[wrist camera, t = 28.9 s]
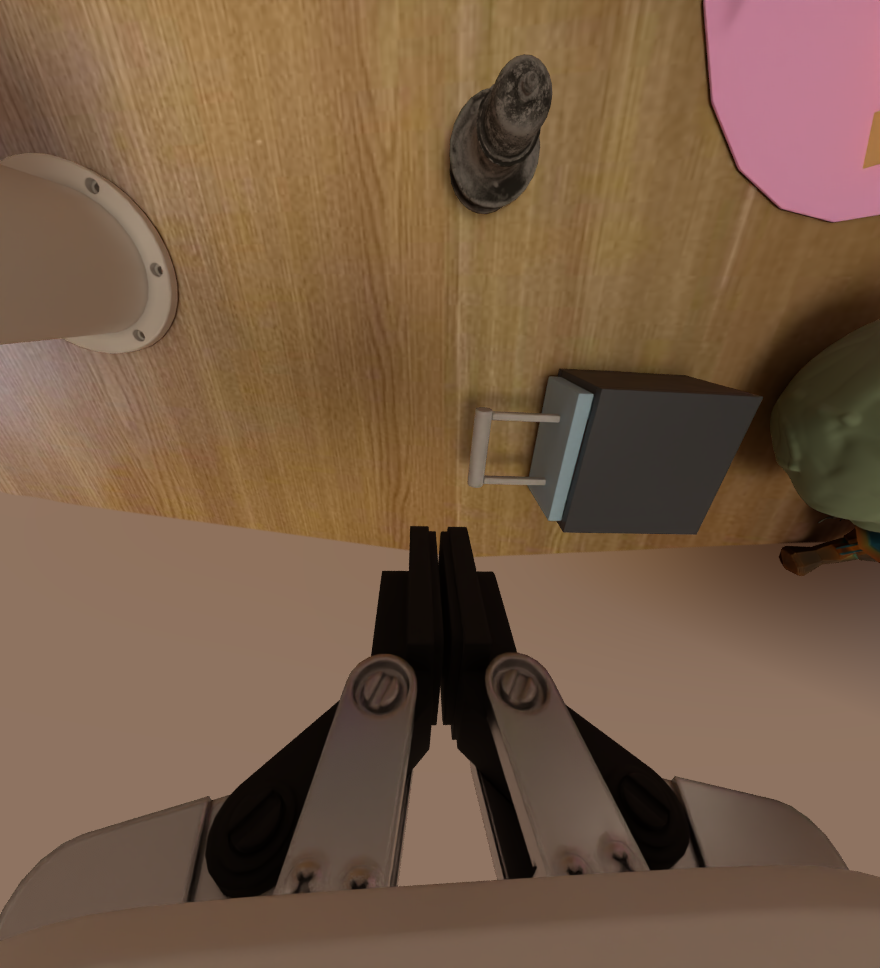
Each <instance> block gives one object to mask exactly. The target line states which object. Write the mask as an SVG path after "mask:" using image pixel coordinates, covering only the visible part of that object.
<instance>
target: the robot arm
mask: <svg viewBox="0 0 880 968" xmlns="http://www.w3.org/2000/svg"><path fill="white" fill-rule="evenodd" d="M161 268H162V270H163V273H162V272H161ZM177 302H178V296H177V281H176V276H175V272H174V267H173V264H172V261H171V259H170V256H169V253H168V251H167V248H166V246H165V245H164V243H163V241H162V239H161V237H160V235H159V234H158V232H157V230H156V229H155V227H154V226H153V224H152V223H151V222H150V220H149V219H148V218H147V216H146V215H145V214H144V212H143V211H142V210H141V209H140V208H139V207H138V206H137V205H136V204H135V203H134V202H133V201H132V199H131V198H130V197H129V196H128V195H127V194H125V193H124V192H123V191H122V190H120V189H119V188H118V187H117V186H115V185H114V184H113V183H112V182H111V181H109V180H107V179H106V178H104V177H102V176H101V175H99V174H97V173H96V172H94V171H92V170H91V169H89V168H86V167H84V166H81V165H79V164H77V163H75V162H72V161H70V160H67V159H63V158H60V157H57V156H54V155H50V154H41V153H23V154H17V155H12V156H9V157H7V158H5V159H3V160H1V161H0V345H2V344H12V343H21V342H31V341H40V340H50V339H60V338H62V339H64V340H66V341H68V342H70V343H72V344H74V345H77V346H79V347H82V348H86V349H89V350H92V351H96V352H103V353H110V354H113V353H128V352H133V351H138V350H141V349H144V348H146V347H149V346H151V345H153V344H154V343H155V342H157V341H158V340H160V339H161V338H162V337H163V336H164V334H165V333H166V332H167V331H168V329H169V328H170V326H171V324H172V321H173V319H174V317H175V313H176V307H177ZM440 688H441V704H442V720H443V725H451V733H452V740H457V748H458V749H459V750H460V751H461V752H462V753H463V754H464V755H465V756H466V757H467V758H468V759H469V760H470V767H471V773H472V777H473V781H474V785H475V790H476V794H477V798H478V802H479V806H480V810H481V814H482V819H483V823H484V827H485V831H486V835H487V839H488V844H489V847H490V852H491V856H492V860H493V864H494V868H495V873H496V876H497V880H492V881H476V882H462V883H461V882H460V883H446V884H432V885H414V886H399V887H398V881H399V873H400V866H401V858H402V851H403V844H404V835H405V828H406V821H407V813H408V806H409V799H410V791H411V784H412V776H413V768H414V767H415V766H416V765H417V763H418V762H419V761H420V760H421V759H422V757H423V756H424V755H425V753H426V752H427V751H428V750H429V747H430V735H431V725H436V724H437V714H438V704H439V693H440ZM0 968H880V877H877V876H874V875H869V874H865V873H862V872H858V871H851V870H849V869H848V867H847V866H846V864H845V862H844V861H843V859H842V857H841V856H840V854H839V853H838V851H837V850H836V849H835V847H834V846H833V845H832V843H831V842H830V841H829V839H828V838H827V836H826V835H825V834H824V833H823V832H822V831H821V830H820V829H819V828H818V827H817V826H816V825H815V824H814V823H813V822H812V821H811V820H810V819H809V818H807V817H806V816H805V815H803V814H802V813H800V812H799V811H797V810H796V809H795V808H793V807H792V806H790V805H787V804H785V803H782V802H780V801H777V800H774V799H770V798H766V797H761V796H756V795H753V794H748V793H744V792H740V791H736V790H731V789H727V788H723V787H719V786H714V785H710V784H706V783H702V782H697V781H693V780H689V779H684V778H680V777H676V776H675V777H674V778H673V779H672V781H671V780H667V779H663V778H661V777H660V776H659V775H658V774H657V773H656V772H655V771H654V770H652V769H651V768H650V767H649V766H647V765H646V764H644V763H643V762H641V760H639V759H638V758H637V757H635V756H634V755H632V754H631V753H630V752H628V751H627V750H626V749H624V748H623V747H622V746H620V745H619V744H618V743H616V742H615V741H614V740H612V739H611V738H610V737H608V736H607V735H605V734H604V733H603V732H602V731H600V730H599V729H598V728H596V727H595V726H593V725H592V724H591V723H589V722H588V721H587V720H585V719H584V718H583V717H581V716H580V715H579V714H577V713H576V712H575V711H573V710H572V709H571V708H569V707H568V706H567V705H565V703H564V701H563V699H562V697H561V695H560V693H559V691H558V689H557V687H556V685H555V683H554V681H553V679H552V678H551V676H550V675H549V673H548V672H547V670H546V669H545V668H544V667H543V666H542V665H541V664H540V663H539V662H538V661H536V660H535V659H533V658H531V657H529V656H528V655H525V654H520V653H517V651H516V647H515V644H514V640H513V636H512V633H511V630H510V626H509V622H508V619H507V616H506V612H505V609H504V605H503V601H502V598H501V594H500V591H499V588H498V584H497V580H496V577H495V574H494V573H493V572H476V567H475V563H474V558H473V553H472V549H471V544H470V540H469V535H468V531H467V528H466V527H448V529H447V532H441V535H440V548H439V562H438V555H437V543H436V532H435V531H429V527H428V526H410V553H409V571H382V576H381V584H380V591H379V599H378V607H377V615H376V622H375V630H374V638H373V646H372V654H371V657H368V658H367V659H365V660H363V661H362V662H360V663H359V664H358V665H357V666H356V667H355V668H354V669H353V670H352V671H351V673H350V675H349V677H348V679H347V681H346V684H345V687H344V690H343V692H342V695H341V698H340V700H339V701H338V702H337V703H336V704H335V705H333V706H332V707H331V708H330V709H329V710H328V711H327V712H325V713H324V714H323V715H322V716H321V717H319V718H318V719H317V720H316V721H315V722H314V723H312V724H311V725H310V726H309V727H308V728H306V729H305V730H304V731H303V732H302V733H301V734H299V735H298V736H297V737H296V738H295V739H293V740H292V741H291V742H290V743H289V744H288V745H286V746H285V747H284V748H283V749H282V750H281V751H279V752H278V753H277V754H276V755H275V756H274V757H272V758H271V759H270V760H269V761H268V762H266V763H265V764H264V765H263V766H262V767H261V768H260V769H258V770H257V771H256V772H255V773H254V774H253V775H251V776H250V777H249V778H248V779H247V780H245V781H244V782H243V783H242V784H241V785H240V786H239V787H238V788H237V789H236V790H235V791H234V792H233V793H232V794H231V795H228V796H225V797H221V798H218V799H215V800H211V799H210V797H209V796H207V797H204V798H201V799H197V800H194V801H191V802H188V803H184V804H181V805H178V806H174V807H171V808H168V809H164V810H161V811H158V812H154V813H151V814H148V815H144V816H141V817H138V818H134V819H131V820H128V821H125V822H121V823H118V824H115V825H111V826H108V827H105V828H102V829H98V830H95V831H91V832H88V833H85V834H82V835H80V836H78V837H76V838H73V839H72V840H69V841H67V842H65V843H63V844H61V845H60V846H59V847H57V848H56V849H55V850H53V851H52V852H51V853H49V854H48V855H47V856H46V857H44V858H43V859H42V860H40V862H39V863H38V864H37V865H36V866H35V867H34V868H33V869H32V870H31V871H30V872H29V873H28V875H26V876H25V878H24V879H23V880H22V881H21V882H20V884H19V885H18V887H17V888H16V890H15V891H14V893H13V894H12V896H11V897H10V899H9V900H8V902H7V904H6V905H5V907H4V909H3V910H2V912H1V914H0Z"/></svg>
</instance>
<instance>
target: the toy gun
mask: <svg viewBox="0 0 880 968" xmlns="http://www.w3.org/2000/svg"><path fill="white" fill-rule="evenodd" d="M779 559H780V562H781V564H782V565H783V566H784V568H785V569H786V570H789V571H790V572H792V573H794V574H797V575H799V576H804V575H806V574H807V573H809V572H811V571H812V570H814V569H815V568H817V567H819V566H820V565H822V564H830V563H839V562H845V561H850V560H856V559H859V560H866V561H876V562H879V563H880V533H879V532H873V531H868V530H865V529H862V528H860V527H858V526H856V525H855V528H854V529H853V530H852V531H850V532H849V533H847V534H846V535H844V537H843V538H839V539H836V540H832V541H829V542H826V543H822V544H819V545H816V546H813V547H798V546H785V547H783V548H782V549H781V552H780V555H779Z"/></svg>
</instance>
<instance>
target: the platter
mask: <svg viewBox="0 0 880 968" xmlns="http://www.w3.org/2000/svg"><path fill="white" fill-rule="evenodd" d="M703 9H704V22H705V34H706V46H707V59H708V71H709V84H710V96H711V104H712V106H713V108H714V111H715V113H716V116H717V118H718V121H719V123H720V126H721V128H722V131H723V133H724V136H725V138H726V141H727V143H728V146H729V148H730V150H731V153H732V155H733V158H734V160H735V163H736V165H737V168H738V170H739V171H740V172H741V173H742V174H744V175H745V176H746V177H747V178H748V179H749V180H750V181H751V182H752V183H753V184H754V185H755V186H756V187H757V188H758V189H759V190H760V191H762V192H763V193H764V194H765V195H766V196H767V197H768V198H769V199H770V200H771V201H772V202H773V203H774V204H775V205H776V206H777V207H779V208H780V209H783V210H787V211H791V212H794V213H798V214H802V215H806V216H810V217H814V218H817V219H821V220H825V221H829V222H838V221H844V220H850V219H856V218H862V217H868V216H874V215H880V0H704V1H703Z"/></svg>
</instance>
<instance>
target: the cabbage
mask: <svg viewBox="0 0 880 968" xmlns="http://www.w3.org/2000/svg"><path fill="white" fill-rule="evenodd" d="M770 433H771V436H772V443H773V449H774V452H775V456H776V461H777V463H778V464H779V465H780V466H781V467H782V468H783V469H784V470H785V472H786V473H787V474H788V476H789V477H790V479H791V481H792V483H793V485H794V487H795V489H796V491H797V492H798V494H799V495H800V497H801V498H802V499H803V500H804V501H805V502H806V503H807V505H809V506H810V507H811V508H813V509H815V510H817V511H819V512H822V513H825V514H828V515H831V516H835V517H839V518H843V519H849V520H850V521H851V522H852V523H853V524H855V525H856V526H858V527H860V528H862V529H865V530H868V531H873V532H879V533H880V319H879V320H876V321H874V322H872V323H869V324H867V325H865V326H863V327H861V328H859V329H857V330H855V331H853V332H851V333H850V334H848V335H846V336H845V337H843V338H841V339H840V340H838V341H836V342H835V343H833V344H832V345H830V346H829V347H827V348H826V349H825V350H823V351H822V352H821V353H819V354H818V355H817V356H816V357H814V358H813V359H812V360H811V361H810V362H808V363H807V364H806V365H805V366H804V367H803V368H802V369H801V370H800V371H799V372H798V373H797V374H796V375H795V376H794V377H793V379H792V380H791V382H790V383H789V384H788V386H787V387H786V389H785V390H784V391H783V393H782V394H781V395H780V397H779V398H778V400H777V402H776V404H775V405H774V407H773V410H772V413H771V419H770Z"/></svg>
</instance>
